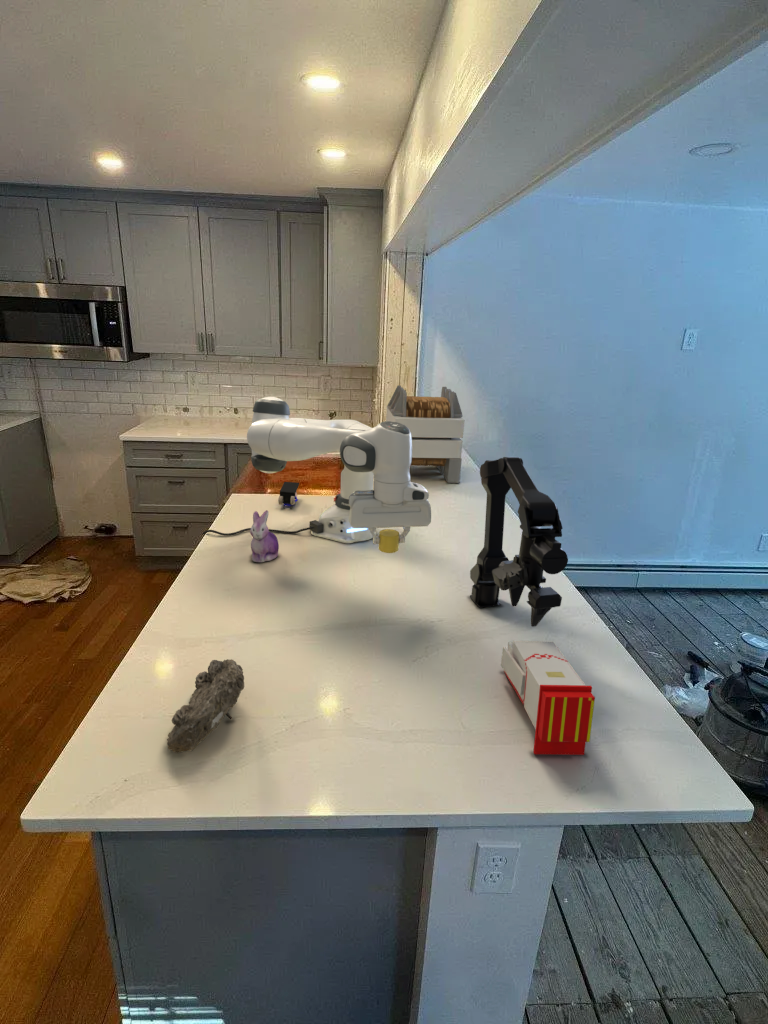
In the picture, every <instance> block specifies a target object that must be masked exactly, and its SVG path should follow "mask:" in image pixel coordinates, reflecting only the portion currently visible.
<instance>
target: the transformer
mask: <svg viewBox="0 0 768 1024" xmlns="http://www.w3.org/2000/svg"><path fill="white" fill-rule="evenodd" d="M440 393H441V394H440V396H415V395H414V396H413V395H412V396H411V395H407V394H408V393H407V390H406V389H404V388H403V387H402V385H399V384H398V385H397V386H396V388H395V390H394V392H393V394H392V395H391V398H390V400H389V402H388V404H387V405H386V413H385V414H386V415H385V421H391V422H397V423H401V424H403V425H405V426H406V427H407V428H408V429H409V430H410V433H411V437H412V462H411V465H410V467H412V466H413V467H415V466H416V467H417V466H418V467H436V468H437V470H438V469H439V473H440V474H441V475H443V478H444V479H445V481H446V482H447V483H449V484H455V483H456V484H459V483H461V472H462V461H463V460H462V453H463V442H464V441H463V440H462V439H463V438H464V431H465V430H464V429H465V419H464V418H463V411H462V408H461V405H460V402H459V398H458V395H457V392H455V391H453V390H452V389H451V388H447V386H442V387H441V392H440Z"/></svg>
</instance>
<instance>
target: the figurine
mask: <svg viewBox="0 0 768 1024" xmlns="http://www.w3.org/2000/svg"><path fill="white" fill-rule="evenodd" d="M268 519H269V510H267V509H266V510H264V511H263V512H262V514H261V515H259V512H258V511H257V510H255V511H254V512H253V513H252V522H253V523H252V525H251V527H250V528H251V529H250V530H249V534H250V536H251V538H252V539H251V541H250V549H251V553H252V554H251V561H252V562H256V563H264V562H270V561H272V560H275V559H276V558H277V557H278V555H279V548H280V546H279V540H278V538H277V536H276V534H275V533H274V532H270V531H269V529H270V528H269V527H268V525H267V522H268Z"/></svg>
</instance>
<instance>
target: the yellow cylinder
mask: <svg viewBox="0 0 768 1024" xmlns="http://www.w3.org/2000/svg"><path fill="white" fill-rule="evenodd" d="M399 534H400V532H399V531H398V530H396V529H394V528H384V529H381V530H379V532H378V535H379V537H380V544H378V551H379V552H381V553H385V554H393V553H397V552H399V549H400V548H399V545H400V543H399Z"/></svg>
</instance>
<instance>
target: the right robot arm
mask: <svg viewBox="0 0 768 1024" xmlns="http://www.w3.org/2000/svg"><path fill="white" fill-rule="evenodd" d="M479 474H480V483H481V485H482V487H483V489H484V490H485V492H486V505H485V523H484V524H485V525H484V540H483V548H482V549H481V550H480V552H479V553H478V555H477V558H476V563H475V564H474V566H473V567H471V569H470V571H469V578H470V580H471V582H472V583H473V584H472V586H471V587H472V588H471V594H470V596H469V597H470V599H471V600H472V601H473V603H474V604H475V605H476V606H477V607H478V608H480V609H481V608H491V607H500V606H501V605H502V604H501V602H500V601H499V598H500V590H501V591H508V594H509V599H510V604H511V606H512V607H514V608H515V607H517V606H518V604H519V602H520V600H521V597H522V595H523V592H524V589H525V588H526V587H527V589H529V590H530V591H529V592H528V593H527V599H528V600H527V601H526V603H527V604H528V605H529V606H530V607H531V608H530V626H531V627H537V626H538V625H539V623H540V622H541V620H543V618H544V617H545V616H546V615H547V613H548V612H550V610H551V609H553V608H560V607H561V605H562V600H563V597H562V596H561V594H559V592H557V591H556V590H555V589H554V588H553V587H551V586H546V587H543V586H541V584H545V583H546V582H547V578H546V577H545V576H544V572H545V573H546V574H548V575H557V574H559V573H561V572H563V571H564V570H565V568H567V565H568V563H569V558H568V553H567V552H566V551H565V550H564V549H563V548H562V542H560V541H559V540H557V539H556V538H562V537H563V532H562V530H563V524H562V521H561V516H560V513H559V509H558V506H557V504H556V503H555V501H553V499H552V498H551V497H550V496H549V495H548V494H545V493H543V492H541V490H539V489H538V487H537V486H536V484H535V483H534V481H533V479H532V478H531V476H530V474H529V472H528V471H527V469H526V467H525V466H524V461H523V458H522V457H519V456H503V457H500V458H497V459H491V460H490V459H486V460H485V461H484V463H482V464H481V465H480V467H479ZM511 490H512V493H513V494H514V496H515V498H516V500H517V502H518V504H519V506H518V509H517V514H518V519H519V522H520V524H519V528H520V529H521V530H522V531H521V537H520V545H519V552H518V554H515V555H514V557H513V558H512V559H513V560H510V559H509V558H508V557H507V555H506V554H505V551H504V550H503V543H504V526H505V512H506V511H505V510H506V496H507V494H508V493H509V492H510V491H511ZM542 527H543V528H542ZM544 527H547V528H544Z"/></svg>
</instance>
